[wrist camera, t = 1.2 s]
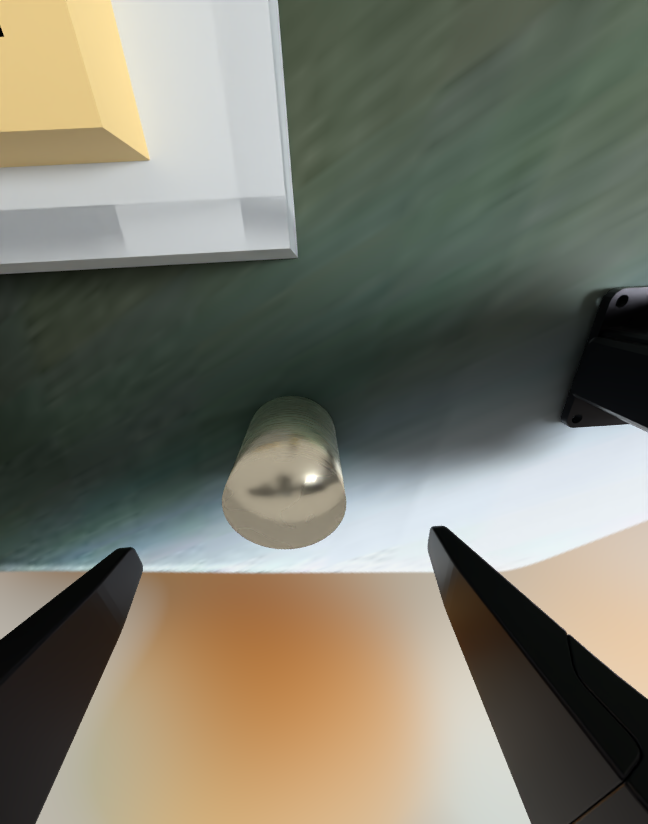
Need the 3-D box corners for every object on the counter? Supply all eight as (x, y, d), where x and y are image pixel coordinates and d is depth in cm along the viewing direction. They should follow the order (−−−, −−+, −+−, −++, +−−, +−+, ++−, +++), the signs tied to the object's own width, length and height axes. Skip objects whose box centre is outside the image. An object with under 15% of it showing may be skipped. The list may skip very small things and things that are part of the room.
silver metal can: (333, 392, 14) (345, 451, 9) (336, 467, 16) (347, 544, 11) (242, 398, 14) (209, 460, 9) (256, 472, 16) (234, 553, 11)
